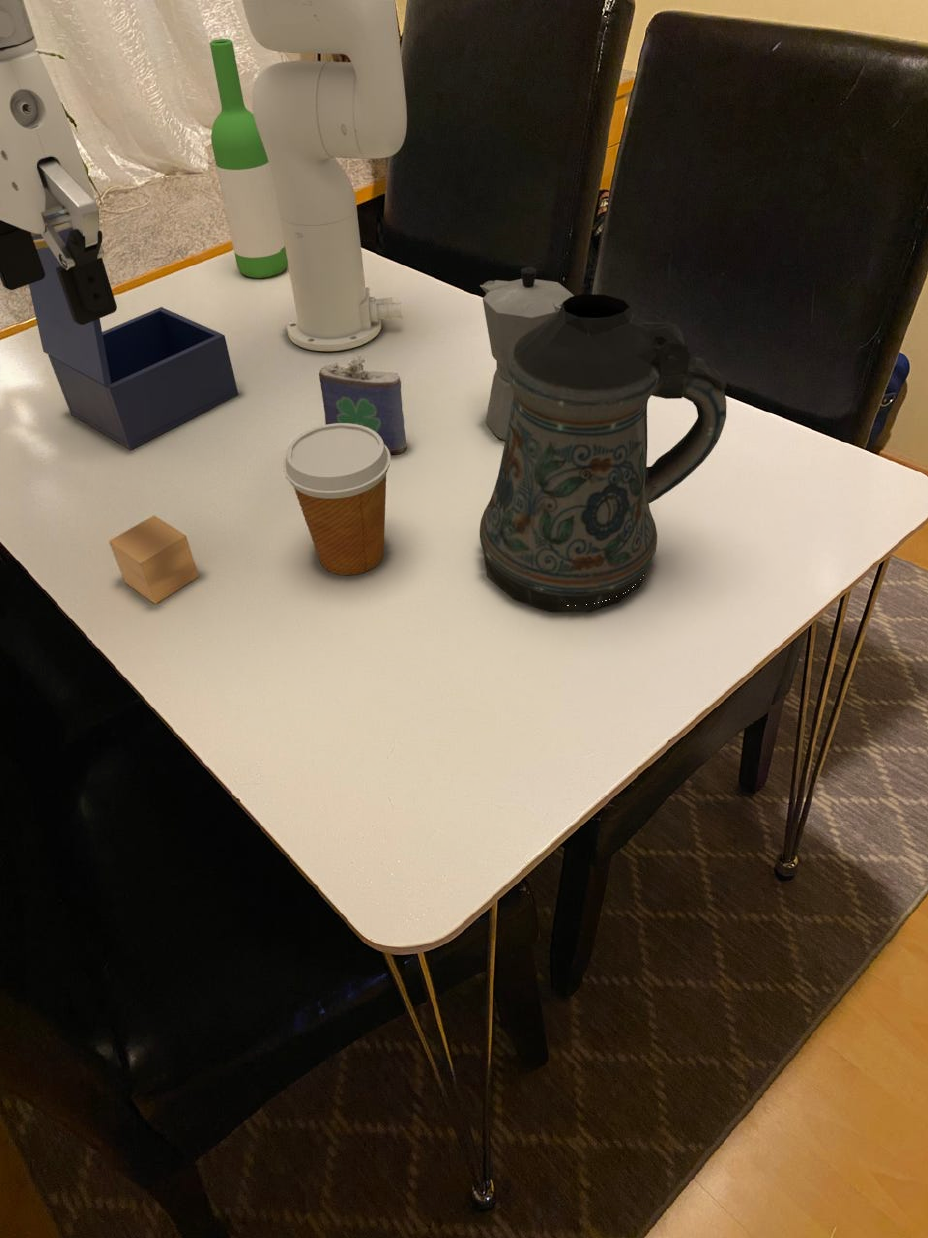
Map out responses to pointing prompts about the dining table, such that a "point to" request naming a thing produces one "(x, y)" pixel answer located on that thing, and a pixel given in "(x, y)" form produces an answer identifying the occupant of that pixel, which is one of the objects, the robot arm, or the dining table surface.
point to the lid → (65, 320)
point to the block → (154, 559)
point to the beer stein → (590, 453)
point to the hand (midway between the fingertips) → (60, 299)
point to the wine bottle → (245, 175)
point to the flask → (365, 401)
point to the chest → (151, 378)
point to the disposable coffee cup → (341, 493)
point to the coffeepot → (514, 330)
